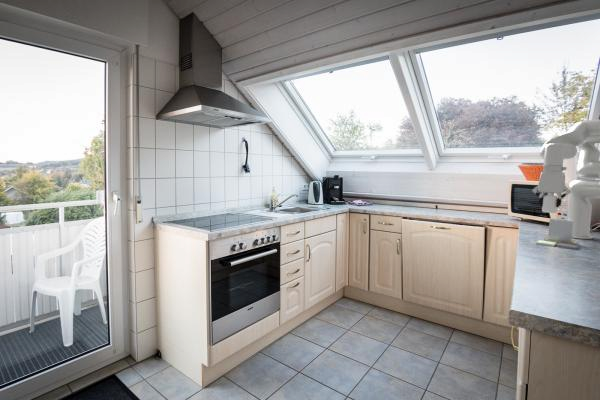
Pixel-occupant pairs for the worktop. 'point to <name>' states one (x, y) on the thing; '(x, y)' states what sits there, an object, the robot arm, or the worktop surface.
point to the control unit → (560, 231)
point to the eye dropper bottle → (549, 203)
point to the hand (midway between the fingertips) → (549, 206)
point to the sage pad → (546, 243)
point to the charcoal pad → (567, 246)
